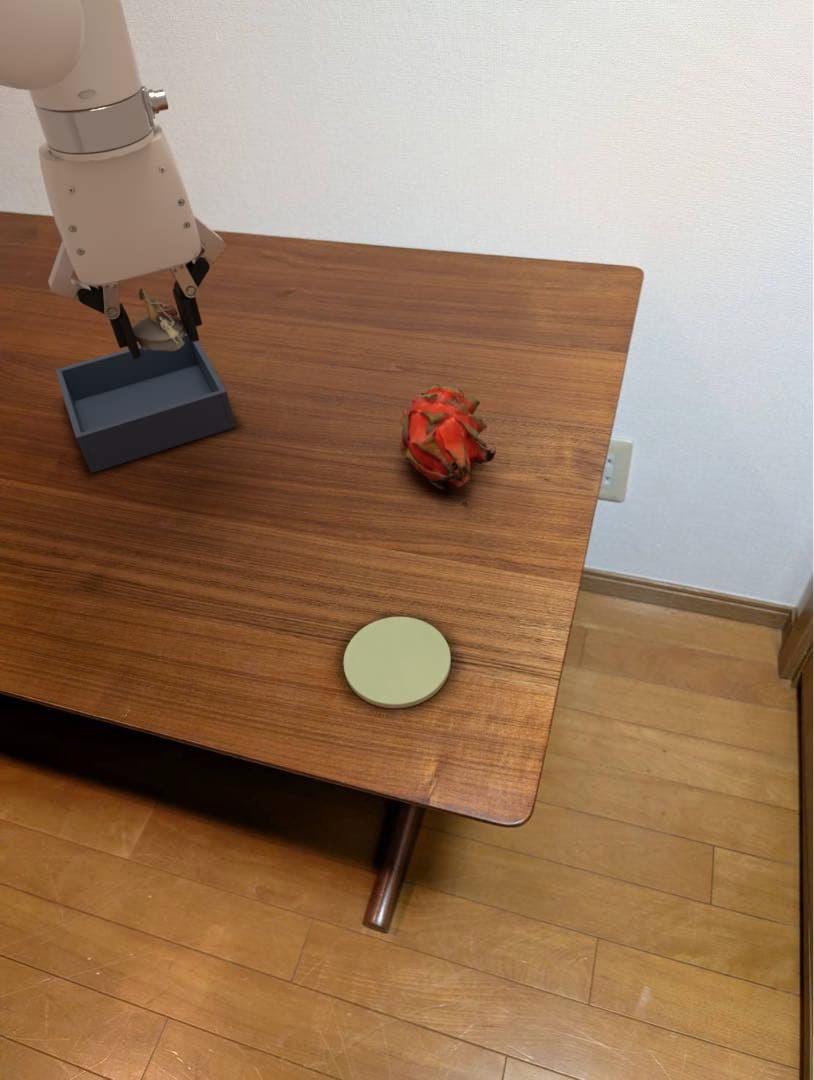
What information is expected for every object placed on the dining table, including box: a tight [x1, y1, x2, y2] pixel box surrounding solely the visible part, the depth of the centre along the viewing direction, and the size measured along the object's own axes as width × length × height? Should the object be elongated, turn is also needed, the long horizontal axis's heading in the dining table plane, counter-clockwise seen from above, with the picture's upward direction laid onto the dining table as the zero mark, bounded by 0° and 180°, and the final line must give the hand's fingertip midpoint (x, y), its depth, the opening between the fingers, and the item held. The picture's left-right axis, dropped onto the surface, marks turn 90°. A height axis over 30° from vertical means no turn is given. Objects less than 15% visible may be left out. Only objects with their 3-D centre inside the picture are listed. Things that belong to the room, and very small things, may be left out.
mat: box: [343, 616, 452, 709], centre depth 65 cm, size 8×8×1 cm
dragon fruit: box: [399, 383, 497, 491], centre depth 79 cm, size 8×8×12 cm
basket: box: [54, 334, 236, 474], centre depth 88 cm, size 15×13×5 cm
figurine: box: [131, 288, 186, 351], centre depth 71 cm, size 5×4×6 cm
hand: (162, 340), depth 72 cm, fingers closed on figurine, 4 cm apart
